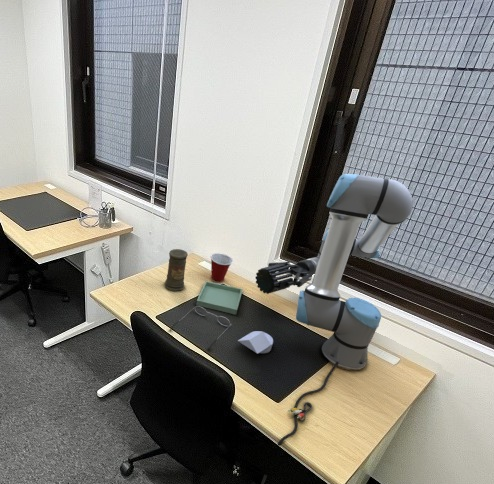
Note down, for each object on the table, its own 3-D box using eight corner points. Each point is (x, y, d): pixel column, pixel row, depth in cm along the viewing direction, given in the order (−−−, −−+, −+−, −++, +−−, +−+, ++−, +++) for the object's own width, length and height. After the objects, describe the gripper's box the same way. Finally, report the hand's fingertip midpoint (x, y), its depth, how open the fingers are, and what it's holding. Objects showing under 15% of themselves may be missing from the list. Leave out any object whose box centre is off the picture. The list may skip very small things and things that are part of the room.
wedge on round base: (255, 360, 139) (275, 347, 146) (259, 346, 136) (280, 333, 143) (235, 347, 145) (256, 335, 152) (239, 333, 142) (259, 321, 149)
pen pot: (271, 298, 155) (276, 275, 149) (253, 286, 163) (258, 264, 157) (289, 292, 158) (295, 270, 153) (271, 281, 166) (276, 259, 161)
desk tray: (236, 314, 164) (237, 309, 162) (196, 305, 169) (196, 300, 168) (241, 293, 179) (242, 289, 177) (204, 285, 184) (205, 280, 182)
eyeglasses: (231, 328, 156) (233, 320, 153) (208, 352, 143) (210, 344, 141) (193, 310, 165) (194, 303, 163) (169, 332, 153) (170, 324, 150)
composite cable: (306, 402, 123) (308, 397, 122) (319, 413, 120) (321, 407, 118) (286, 414, 119) (288, 408, 117) (298, 425, 115) (301, 420, 114)
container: (162, 282, 184) (165, 249, 175) (179, 280, 187) (183, 247, 177) (169, 292, 177) (173, 258, 168) (186, 290, 180) (191, 256, 170)
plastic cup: (223, 287, 183) (227, 265, 177) (203, 279, 188) (206, 258, 182) (232, 278, 190) (237, 257, 184) (212, 271, 196) (216, 250, 189)
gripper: (328, 287, 157) (288, 300, 149) (286, 264, 175) (249, 273, 167) (333, 272, 154) (292, 283, 146) (290, 249, 171) (252, 258, 163)
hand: (269, 278), depth 156 cm, fingers closed on pen pot, 11 cm apart
